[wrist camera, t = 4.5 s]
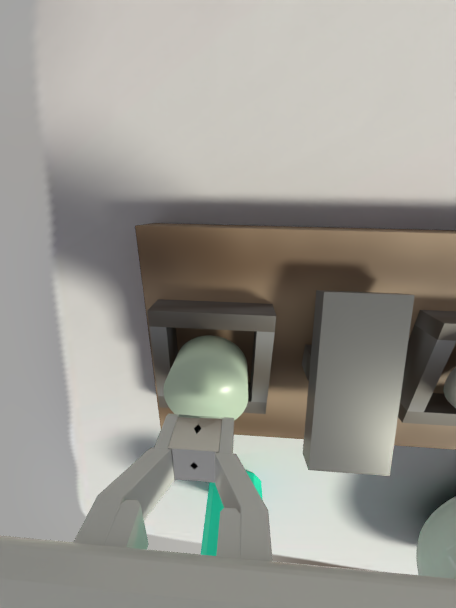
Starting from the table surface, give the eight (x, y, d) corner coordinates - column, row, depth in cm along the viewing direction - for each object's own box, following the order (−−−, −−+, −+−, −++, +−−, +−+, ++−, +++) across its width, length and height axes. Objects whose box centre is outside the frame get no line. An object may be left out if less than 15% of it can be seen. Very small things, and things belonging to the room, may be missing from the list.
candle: (220, 504, 27) (205, 703, 16) (201, 473, 25) (169, 675, 14) (268, 497, 26) (287, 705, 15) (252, 463, 24) (260, 675, 13)
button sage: (173, 333, 13) (159, 358, 11) (249, 337, 13) (250, 363, 11) (178, 392, 15) (167, 424, 13) (245, 396, 15) (246, 429, 12)
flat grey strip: (316, 290, 13) (324, 291, 11) (398, 293, 12) (414, 295, 11) (302, 453, 14) (308, 470, 13) (376, 458, 14) (389, 475, 13)
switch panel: (154, 223, 16) (119, 227, 11) (542, 232, 14) (675, 242, 10) (171, 401, 22) (152, 450, 17) (445, 418, 20) (502, 476, 16)
